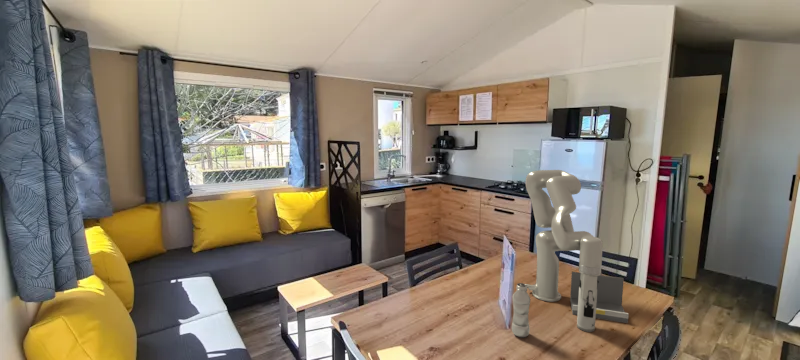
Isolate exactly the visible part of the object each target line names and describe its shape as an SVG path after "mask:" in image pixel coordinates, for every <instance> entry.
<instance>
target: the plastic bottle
mask: <svg viewBox="0 0 800 360" xmlns="http://www.w3.org/2000/svg"><path fill="white" fill-rule="evenodd" d="M526 284H527V283H523V282H518V283H516V290H515V292H514V293H513V294H512V306H513V315H512V316H513V317H512V323H511V331H512V333H513V335H514V336H516V337H519V338H527V337H528V336H529V334H530V331H531V329H530V328H531V327H530V324H529V312H530V304H531V297H530V294H529V293H528V292H527V291H528V288H527V285H526Z"/></svg>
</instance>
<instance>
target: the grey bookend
mask: <svg viewBox="0 0 800 360" xmlns="http://www.w3.org/2000/svg"><path fill="white" fill-rule="evenodd" d="M580 276H581V273H580V272H579V271H578V272H577V271H571V276H570V277H571V281H570V296H569V298H570V299H569V302H570V306H571V312H572V315H575V316H577V314H578V297H579V283H580ZM624 279H625V278H624V277H620V276H619V277H618V276H610V275H599V276H597V280H598V281H599V283H598V285H597V303H596V318H595V319H598V320H603V321H604V320H605V321H610V322H618V323H622V324H623V323H624V324H629V313H628V312H626V311H625V310H624V309H625V308H624V307H623V305H622V304H623V293H624V291H623V290H624V281H625V280H624Z"/></svg>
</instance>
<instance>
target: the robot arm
mask: <svg viewBox="0 0 800 360" xmlns="http://www.w3.org/2000/svg"><path fill="white" fill-rule="evenodd" d="M525 189H526V191H527V194H528V195H529V199H530V202H531V206H532V211H533V212H532V213H533V216H534V220H535V224H536V226H537V227H538V228H542V229H547V230H542V231H540V232H538V233H537V234H536V235H535V244H536V245H535V246H536V276H535V277H536V278H535V279H536V281H535V284H530V283H529V284H528V283H525V284H526V285H527V289H528V291H532V292H531V293H532V296H533V297H534V298H536V299H537V300H540V301H544V302H549V303H550V302H551V303H552V302H558V301H560V300H561V299H562V295H561V293H560V292H559V276H560V275H559V272H560V259H559V257H558V256H557V254H556V252H559V251H563V252H572V251H579V259H578V272H579V273H581V276H580V280H581V298H582V299H585V306H584V317H590V318H593V312H594V308H593V307H594V303H593V301H595V300H596V294H597V276H599V275H601V274H602V263H603V262H602V261H603V248H604V247H603V245H604V244H603V240H602V239H601V238H600V237H598V236H597V237H596V236H594V235H593V234H591V233H590V232H589V231H585V230H579V231H575V230H574V226H573V222H572V221H573V220H572V216H571V215H570V214H572V213H573V212H575V211H576V209H577V204H576V202H575V200H574V197H573V195H577V194H579V193H580V192H581V189H582V184H581V182H580V180H579V178H578V177H577V176H576V175H573V174H571V173H569V172H568V171H565V170H561V169H539V170H533V171H530V172H529V173H527V175H526V178H525ZM544 189H546V190H547V192H546V191H545V190H544ZM548 229H550V230H548ZM587 297H588V298H589V299H587ZM587 301H589V302H588V303H587Z"/></svg>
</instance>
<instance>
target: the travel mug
mask: <svg viewBox="0 0 800 360" xmlns="http://www.w3.org/2000/svg"><path fill="white" fill-rule="evenodd" d="M598 283H599V281H598V280H597V285H598ZM587 299H589V298H588V297H587ZM588 302H589V301H587V303H588ZM593 303H594V307H593V308H594V312H593V318H590V317H584V306H585V299H582V298H581V280H580V283H579V297H578V314H577V315H576V317H577V318H576V327H577V328H578V329H579V330H581V331H582V332H587V333H593V332H595V330H596V319H597V318H596V303H597V294H596V300H595V301H593Z"/></svg>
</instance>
